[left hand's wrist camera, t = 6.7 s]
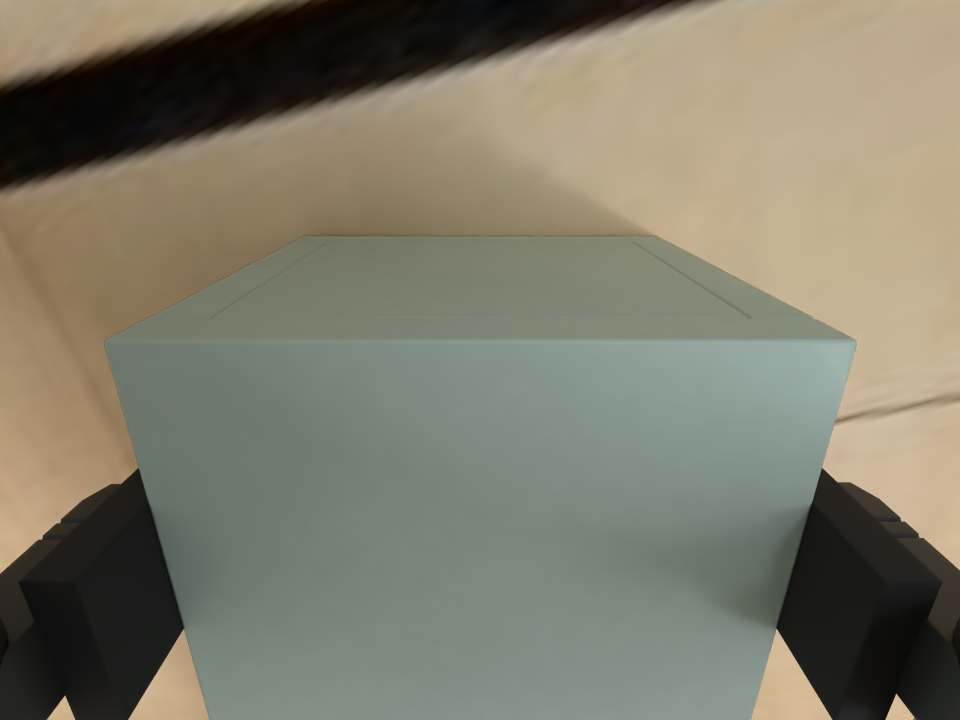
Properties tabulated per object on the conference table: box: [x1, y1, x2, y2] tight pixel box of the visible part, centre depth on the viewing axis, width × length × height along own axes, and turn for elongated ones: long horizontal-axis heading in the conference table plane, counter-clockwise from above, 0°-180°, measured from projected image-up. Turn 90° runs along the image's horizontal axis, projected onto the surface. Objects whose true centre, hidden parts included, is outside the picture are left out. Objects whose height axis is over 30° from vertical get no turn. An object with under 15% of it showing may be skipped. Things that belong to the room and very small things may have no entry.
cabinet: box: [104, 236, 857, 720], centre depth 16 cm, size 22×11×9 cm, turn 0°
